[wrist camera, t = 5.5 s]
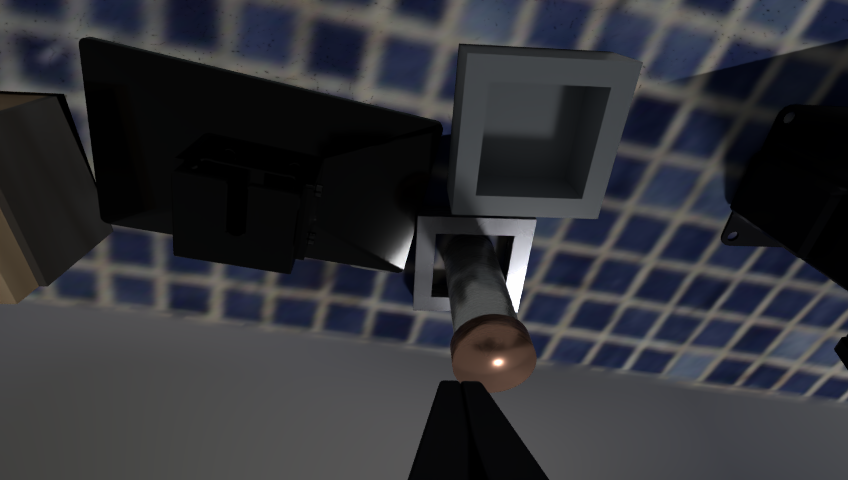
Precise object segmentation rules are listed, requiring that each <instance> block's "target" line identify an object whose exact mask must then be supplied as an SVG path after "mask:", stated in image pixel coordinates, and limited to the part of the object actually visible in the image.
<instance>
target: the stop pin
mask: <svg viewBox="0 0 848 480" xmlns="http://www.w3.org/2000/svg"><path fill="white" fill-rule="evenodd" d="M443 259H444V266H445V273H446V280H447V287H448V294H449V302H450V309H451V316H452V323H453V330H454V335H453V337H452V339H451V344H450V350H451V358H452V366H453V372H454V375H455V377H456V378H457V380H459V382H460V383H461V382H462V381H479V382H481V383H482V384H483V385H484V387H485V388H486V390H487V391H488V392H489V393H492V392H501V391H505V390H508V389H511V388H513V387H516V386H517V385H519V384H521V383H522V382H524V381H525V380H526V379H527V378H528V377H529V376H530V375H531V373H532V372H533V370H534V368H535V365H536V353H535V350H534V347H533V344H532V341H531V338H530V335H529V333H528V330H527V329H526V327H525V326H524V325H523V324H522V323H521V322H520V321H519V320H518V318H517V315H516V312H515V309H514V306H513V303H512V300H511V297H510V294H509V291H508V288H507V285H506V283H505V280H504V277H503V274H502V271H501V268H500V265H499V262H498V259H497V256H496V253H495V250H494V247H493V245H492V243H491V242H490V241H489V240H488V239H487V238H486V237H484V236H482V235H468V234H462V235H460V236H457V237H455V238H454V239H453V240H451V241H450V242H449V243H448V245H447V246H446V248H445V250H444V255H443Z"/></svg>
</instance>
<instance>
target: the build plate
mask: <svg viewBox="0 0 848 480" xmlns="http://www.w3.org/2000/svg"><path fill="white" fill-rule="evenodd" d="M79 50H80V58H81V66H82V74H83V82H84V90H85V98H86V106H87V114H88V122H89V130H90V138H91V146H92V154H93V163H94V171H95V179H96V187H97V195H98V203H99V211H100V218H101V220H102V221H103V222H105V223H107V224H113V225H119V226H125V227H130V228H136V229H142V230H148V231H154V232H160V233H166V234H172V235H173V254H174V256H178V257H185V258H191V259H197V260H203V261H209V262H216V263H222V264H228V265H234V266H240V267H247V268H253V269H259V270H265V271H272V272H278V273H284V274H291V271H292V268H293V265H294V262H295V259H299V260H304V258H305V257H308V258H313V259H319V260H325V261H331V262H337V263H343V264H349V265H351V266H352V267H356V268H362V269H368V270H374V271H380V272H389V271H390V272H396V273H399V272H402V271H403V269H404V266H405V263H406V259H407V256H408V252H409V249H410V245H411V241H412V238H413V234H414V231H415V227H416V224H417V219H418V213H420V210H421V206H422V203H423V199H424V196H425V192H426V189H427V185H428V182H429V178H430V174H431V171H432V167H433V164H434V160H435V157H436V153H437V150H438V146H439V143H440V139H441V136H442V132H443V127H442V124H441V123H440V122H439V121H436V120H432V119H428V118H424V117H420V116H416V115H412V114H407V113H403V112H399V111H395V110H391V109H387V108H383V107H379V106H374V105H370V104H366V103H362V102H358V101H354V100H350V99H346V98H341V97H337V96H333V95H329V94H325V93H321V92H317V91H313V90H308V89H304V88H300V87H296V86H292V85H288V84H284V83H280V82H275V81H271V80H267V79H263V78H259V77H255V76H251V75H247V74H243V73H238V72H234V71H230V70H226V69H222V68H218V67H214V66H210V65H205V64H201V63H197V62H193V61H189V60H185V59H181V58H177V57H172V56H168V55H164V54H160V53H156V52H152V51H148V50H144V49H139V48H135V47H131V46H127V45H123V44H119V43H115V42H111V41H107V40H102V39H98V38H94V37H86V38H82V39H80V41H79Z"/></svg>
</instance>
